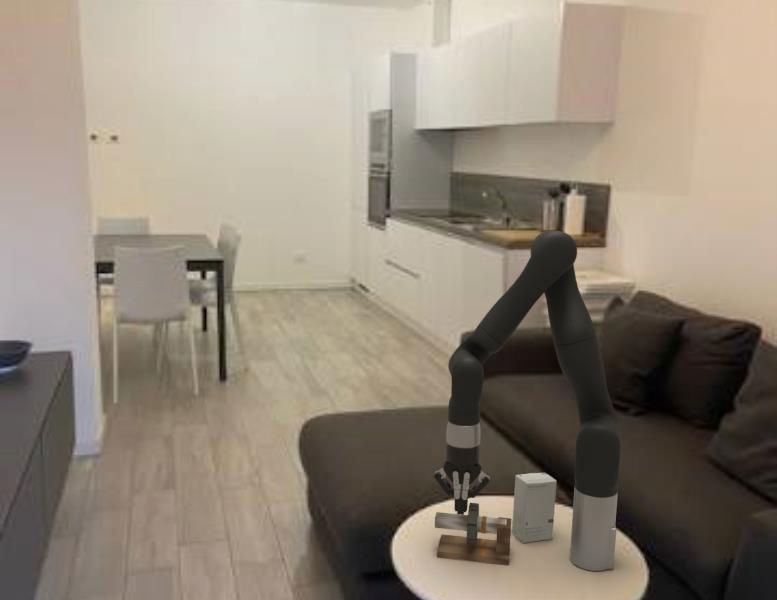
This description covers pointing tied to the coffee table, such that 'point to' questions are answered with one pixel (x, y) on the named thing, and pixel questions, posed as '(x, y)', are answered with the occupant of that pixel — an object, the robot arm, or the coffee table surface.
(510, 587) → the coffee table surface
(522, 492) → the skincare box
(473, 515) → the o ring
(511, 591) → the coffee table surface
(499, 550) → the pipe stand
